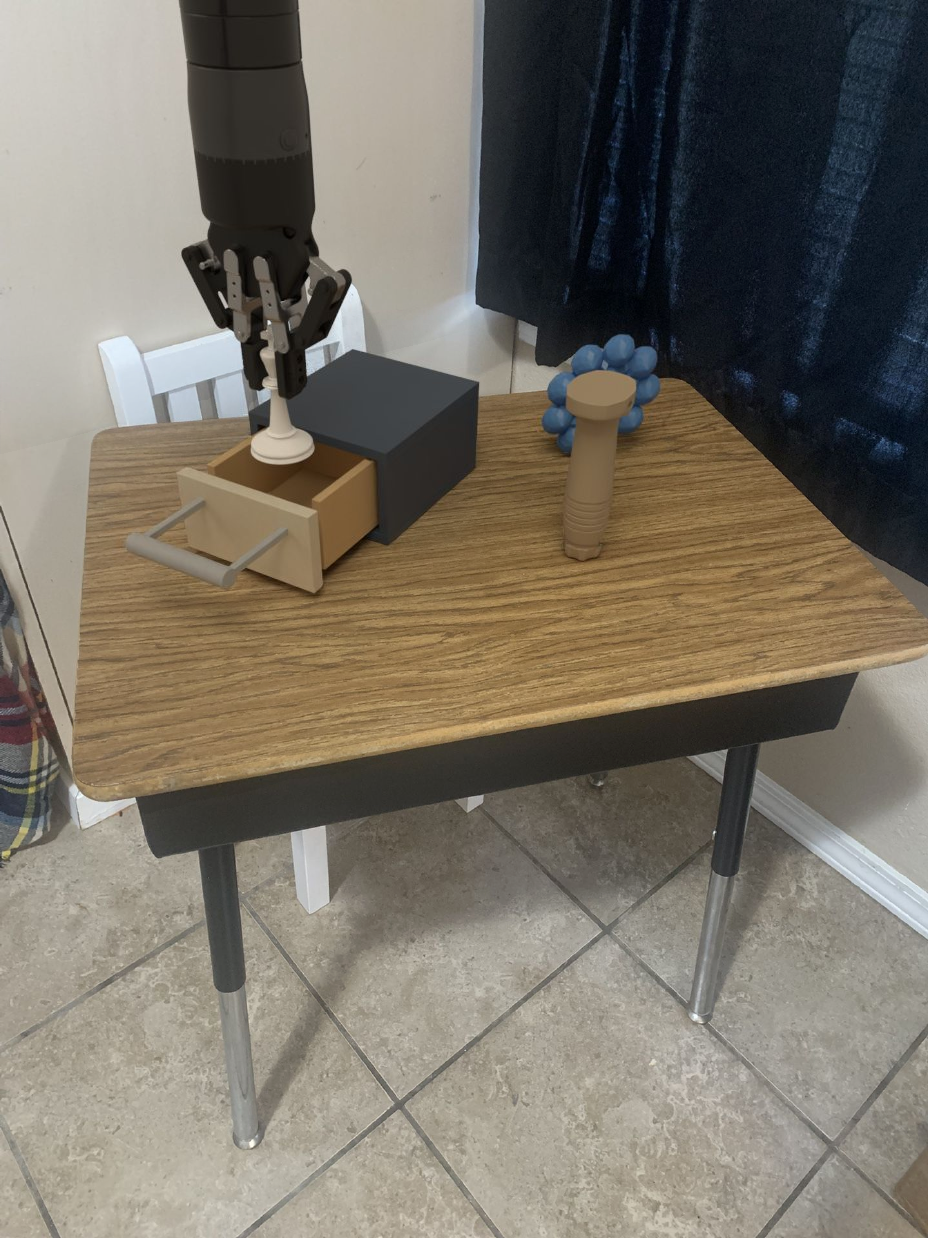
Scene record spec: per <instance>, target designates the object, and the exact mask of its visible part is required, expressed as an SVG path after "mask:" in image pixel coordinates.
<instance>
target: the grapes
mask: <svg viewBox="0 0 928 1238" xmlns="http://www.w3.org/2000/svg"><path fill="white" fill-rule="evenodd" d="M657 363H658V353H657V351H656V349H654V348H653V347H652V346H649V345H643V346H639V347H637V348H636V346H635V339H634V338H633V337H632V336H631V335H629V334H623V333H621V334H620V333H619V334H617V335H615V336H612V337H611V338H610V339H609V340H608V341H607V342H606V343H605V345H604V347H603V349H602V348H601V347H600V346H598V344H586V345H584V346H582V347H580V348H579V349H578V350H577V351H576V352H575V353H574V354H573V356H572V359H571V361H570V366H571V372H569V371H562V372H559V373H557V374H556V375H555V376H554V377H553V378H552V379H551V380H550V381H549V383H548V385H547V389H546V392H547V398H548V400H549V401H550V402H551V403H552V404H551V405H550V406H549V407H548V408H547V409H546V410H545V411H544V413H543V414H542V418H541V424H542V429H543V430H544V432H546V433H547V434H549V435H557V437H556V444H557V448H558V449H559V450H560V451H561V452H562V453H566V454H571V452H572V446H573V440H574V433H575V427H576V419H577V417H575V416H574V415H572V414H571V413H570V412H569V411H567V410H566V393H567V386H568V384H569V383H570V382H571V381H572V380H573V379H575V378H576V377H577V376H579V375H582V374H585V373H588V372H592V371H596V370H606V371H613V372H617V373H621V374H624V375H627V376H629V377H631V378H633V379H634V380H635V381H636V394H635V401H634V404H633V406H632V408H631V411H630V412H629V414H628V415H626V416H624V417H622V418H620V419H619V425H618V434H617V435H624V436H625V435H629V434H632V433H634V432H635V431H637V430H638V428H640V426H642V423H643V421H644V418H645V417H644V409H643V407H642V406H646V405H649V404H651V403H652V402H653V401H654V400H655V399H657V397H658V396H659V393H660V391H661V381H660V378H659V377H658V376H657V375H656V374H653V371H654V370H655V368H656V366H657Z"/></svg>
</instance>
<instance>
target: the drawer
mask: <svg viewBox="0 0 928 1238" xmlns="http://www.w3.org/2000/svg"><path fill="white" fill-rule="evenodd" d="M267 428H268V427H265V428H264V429H262V430H260V431H259V432H257V433H256V434H254V435H252V436H251V435H250V436H249V437H248V438H246V439H244V440H243V441H241V442H240V443H238V444H237V445H235V446H234V447H232V448H230V449H228V450H226V451H225V452H224V453H222V454H221V455H219V456H218V457H215V459H213V460H212V461H210V462H207V464H206V468H207V472H204V471H201V470H198V469H195V468H191V467H188V466H184V467H183V468H182V469H180V470H179V471H176V480H177V481H176V482H177V487H178V492H179V498H180V503H181V504H180V505H181V509H179V510H177V511H176V512H174V513H172V514H171V515H170V516H168V517H166V518H165V519H163V520H162V521H161V522H159V523H158V524H156V525H155V526H153V527H151V528H150V529H149V530H147V531H146V532H144V533H141V532H138V531H134V532H131V533H130V534H129V535H128V536H127V538H126V539H125V543H124V545H125V549H126V551H127V552H129V553H130V554H131V555H134V556H137V557H141V558H143V559H145V560H148V561H150V562H153V563H155V564H158V565H161V566H163V567H166V568H169V569H171V570H173V571H175V572H178V573H181V574H184V575H185V576H189V577H191V578H194V579H196V580H199V581H201V582H204V583H206V584H209V585H212V586H215V587H217V588H218V589H219V588H220V589H223V590H225V591H227V590H228V591H229V590H230V589H231V588H233V587H234V585H235V584H236V582H237V577H238V574H240V573H242V571H243V570H245V569H248V570H250V571H253V572H256V573H259V574H261V575H265V576H267V577H270V578H273V579H275V580H278V581H280V582H284V583H286V584H288V585H292V586H294V587H297V588H299V589H302V590H304V591H307V592H310V593H312V594H315V593H316V592H317V591H318V590H320V589H321V588H322V587H323V586H324V582H323V581H324V580H323V570H327V569H328V568H329V567H331V565H333V564H334V563H335V562H336V561H337V560H338V559H339V558H340V557H342V556H343V555H344V554H345V553H346V552H347V551H349V550H350V549H351V548H352V547H354V546H355V545H356V544H357V543H358V542H359V541H361V540H362V539H363V538H365V537H364V536H365V535H366V534H367V533H368V532H370V531H371V530H372V529H373V528H374V527H375V526H377V525H378V524H379V504H378V469H377V460H374V459H370V458H367V457H364V456H361V455H357V454H354V453H351V452H348V451H344V450H341V449H338V448H334V447H331V446H328V445H325V444H321V443H318V442H315V441H313V444H314V452H313V453H312V454H311V455H310V456H309V457H308V458H306V459H304V460H302V461H300V462H296V463H292V464H284V465H275V464H268V463H264V462H261V461H259V460H257V459H256V458H254V457H253V456H252V454H251V441H252V439H253V438H254V437H255V436H256V435H257V434H258V433H260V432H262V431H264V430H266V429H267ZM183 521H184V527H185V532H186V538H187V542H188V543H187V544H188V547H190V548H191V549H192V548H193V549H195V550H197V551H200V552H203V553H206V554H208V555H210V556H214V557H216V558H219V559H222V560H224V561H227V562H229V563H231V564H229V565H226V564H223V563H220V562H218V561H215V560H213V559H210V558H208V557H204V556H202V555H199V554H196V553H194V552H191V551H188V550H186V549H183V548H181V547H178V546H175V545H172V544H170V543H168V542H164V541H162V540H160V539H158V538H159V537H161V536H162V535H164V534H165V533H167V532H168V531H170V530H171V529H173V528H174V527H176V526H177V525H179V524H180V523H182V522H183Z"/></svg>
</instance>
